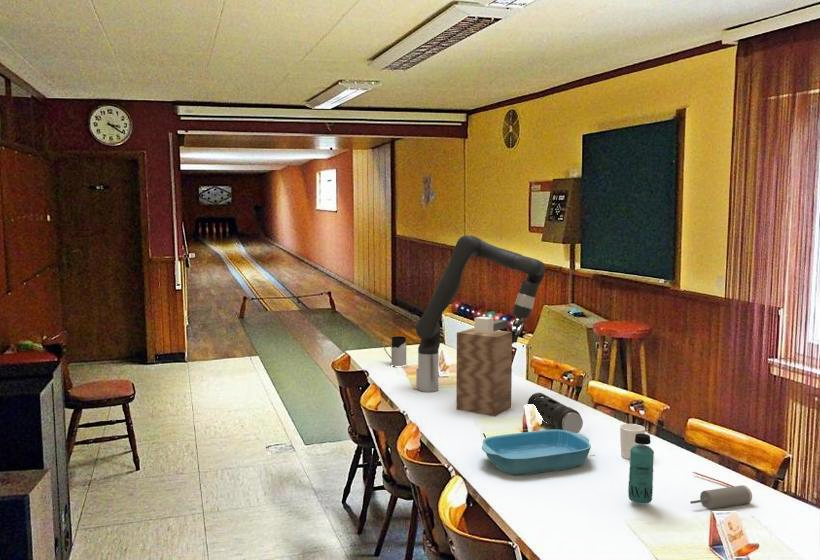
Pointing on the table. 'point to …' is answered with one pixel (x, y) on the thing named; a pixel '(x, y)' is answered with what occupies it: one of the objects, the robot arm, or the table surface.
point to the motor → (724, 495)
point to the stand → (484, 372)
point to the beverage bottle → (641, 470)
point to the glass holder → (397, 350)
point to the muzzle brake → (557, 413)
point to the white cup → (629, 437)
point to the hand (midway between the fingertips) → (512, 342)
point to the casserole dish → (536, 451)
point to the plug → (488, 325)
